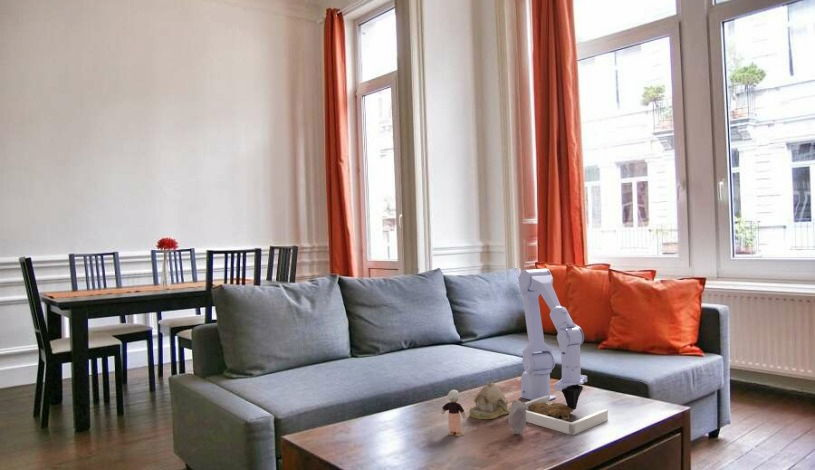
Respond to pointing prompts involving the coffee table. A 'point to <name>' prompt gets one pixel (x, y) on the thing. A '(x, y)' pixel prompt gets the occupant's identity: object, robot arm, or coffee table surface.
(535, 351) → the robot arm
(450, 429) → the grandmother figurine
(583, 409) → the coffee table surface
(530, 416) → the box
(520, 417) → the fossil
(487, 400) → the ceramic model
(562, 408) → the decorative rock
